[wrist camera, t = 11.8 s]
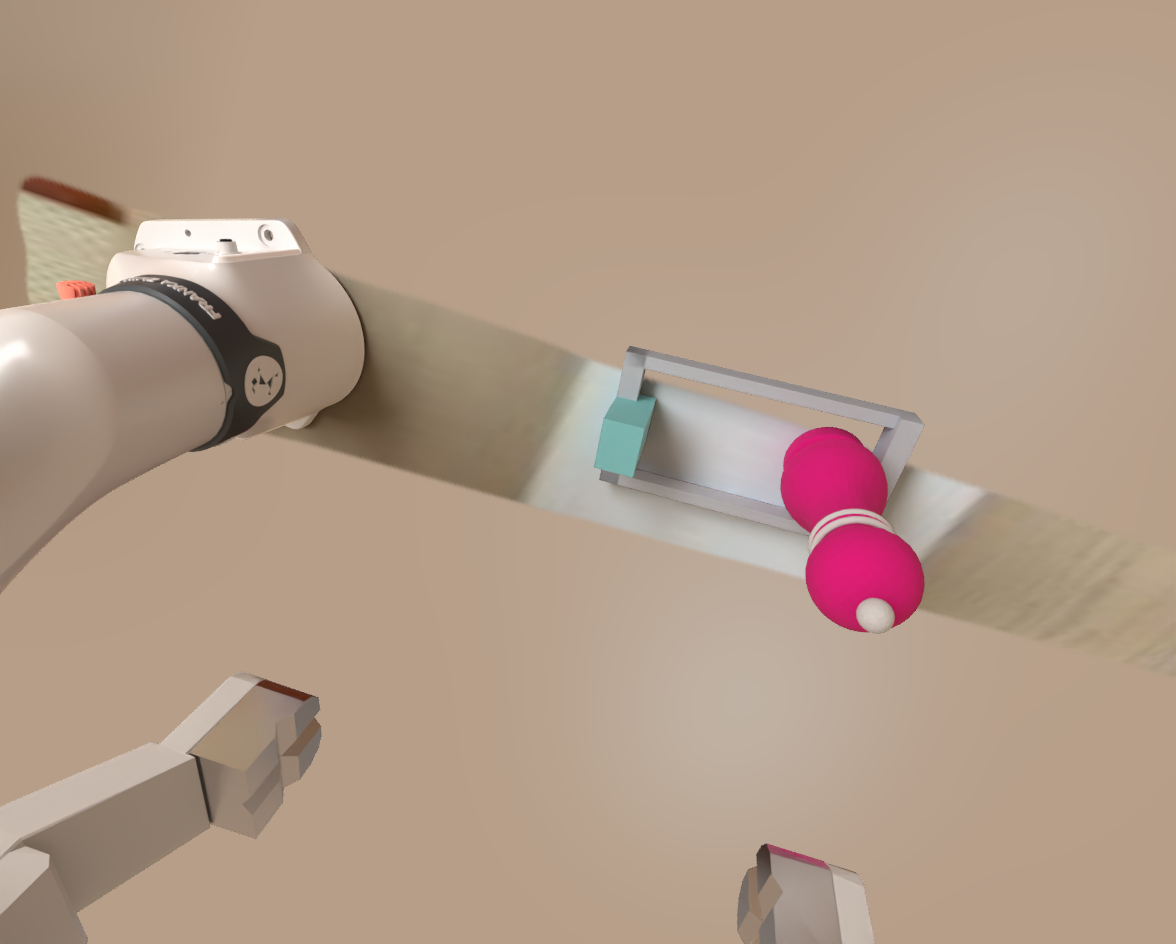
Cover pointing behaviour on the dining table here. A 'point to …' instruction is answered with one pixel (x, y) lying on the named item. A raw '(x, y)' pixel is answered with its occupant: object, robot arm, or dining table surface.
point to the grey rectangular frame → (634, 410)
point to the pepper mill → (849, 533)
